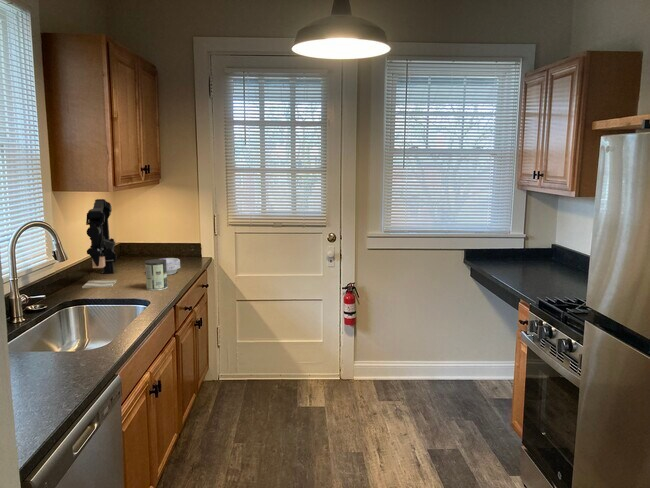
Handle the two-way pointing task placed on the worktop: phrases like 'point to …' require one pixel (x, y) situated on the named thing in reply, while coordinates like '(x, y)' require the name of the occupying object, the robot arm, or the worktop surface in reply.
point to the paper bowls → (172, 265)
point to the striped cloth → (99, 283)
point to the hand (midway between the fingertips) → (98, 264)
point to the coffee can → (156, 274)
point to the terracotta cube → (101, 262)
